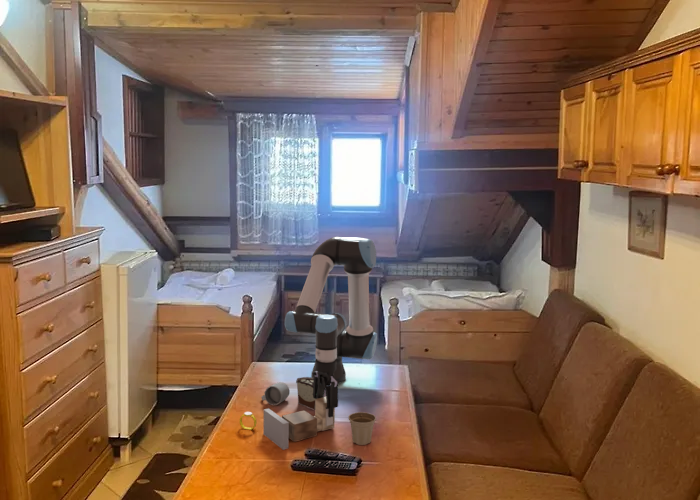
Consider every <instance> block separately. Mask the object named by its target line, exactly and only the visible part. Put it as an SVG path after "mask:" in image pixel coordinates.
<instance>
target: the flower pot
mask: <svg viewBox="0 0 700 500" xmlns="http://www.w3.org/2000/svg"><path fill="white" fill-rule="evenodd" d="M347 418H348V420H349V423H350V428H351V437H352V442H353V444H356V445H359V446H366V445H368V444H370V443H371V441H372V436H373V428H374V424H375V421H376V420H377V418H376V415H374V414H373V413H371V412H365V411H359V412H353V413H351V414H349V415H348V417H347Z"/></svg>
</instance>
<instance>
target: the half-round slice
mask: <svg viewBox="0 0 700 500" xmlns="http://www.w3.org/2000/svg"><path fill="white" fill-rule="evenodd" d="M295 381H296V382H295V383H296V385H297V386H296V387H297V403H298V405H301V406H304V407H306V408H308V409H311V410H313V411H315V398H313V378H312V377H311V376H304V377H297V378H296V380H295Z"/></svg>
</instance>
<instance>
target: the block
mask: <svg viewBox="0 0 700 500" xmlns="http://www.w3.org/2000/svg"><path fill="white" fill-rule="evenodd" d="M314 416H315V415H314ZM314 416H313V415H312V414H310V413H309V412H308V411H306V410H300V411H296V412H292V413H288V414H284V415H282V416H281V417H282V418H283V419H284V420H286V421H287V422H289V439H290V440H291V441H292V442H294V443H295V442H298V441H302V440H305V439H309V438H313V437H317V436H318V435H317V434H318V431H317V418H315V417H314Z"/></svg>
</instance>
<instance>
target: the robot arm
mask: <svg viewBox="0 0 700 500" xmlns="http://www.w3.org/2000/svg"><path fill="white" fill-rule="evenodd" d="M310 264H311V265H310V268H309V271H308V274H307V276H306V280H305V283H304V285H303V288H302V291H301V292H300V296H299V299H298V301H297V304H296V307H295V309H294V310H292V311H291V310H289V311H288V312H287V313H285V317H284V328H285V329H286V331H288V332H292V333H297V334H299V333H300V334H301V333H302V334H311V335H313V334H314V335H315V353H314V354H315V361H314V364H313V368H312V371H311V376H310V377H312V378H313V398H315V399H318V398H322V397H326V401H327V407H325V408H326V420H325V425H326V426H329V425H333V415H334V408H335V409H336V408H338V407H339V402H338V401H339V385H340V383H342V382H345V381H346V377H347V376H346V375H347V374H346V370H345V367H344V364H343V363H344V362H343V358H347V359H348V358H350V359H359V360H371V359H372V358H374V355H375V352H376V348H377V343H378V333H377V332H375V331H374V327H373V326H372V325H371V323H370V291H369V290H370V289H369V287H370V286H369V285H370V283H369V281H370V280H369V277H370V276H369V274H371V272H372V271H373V268H375V266H376V264H377V250H376V245H375V242H374V241H373V240H372V239H370V238H364V237H343V236H334V237H331V238H328V239H326V240H324V242H322V243H321V244H320V245H319V246H318V247H316V249H315V251H314V252H313V254H312V256H311V259H310ZM334 266H343V271H344V273H345V274H346V275H347V286H348V287H347V288H348V291H347V292H348V318H349V319H348V320H349V321H348V322H347V318H346V317H345V316H344V315H343V314H342V313H341V312H333V313H331V314H325V313H316V312H317V308H318V305H319V302H320V299H321V297H322V293H323V290H324V288H325V285H326V282H327V279H328V276H329V274H330V272H331V271H332V270H333V269H334ZM347 324H348V326H347Z"/></svg>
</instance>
